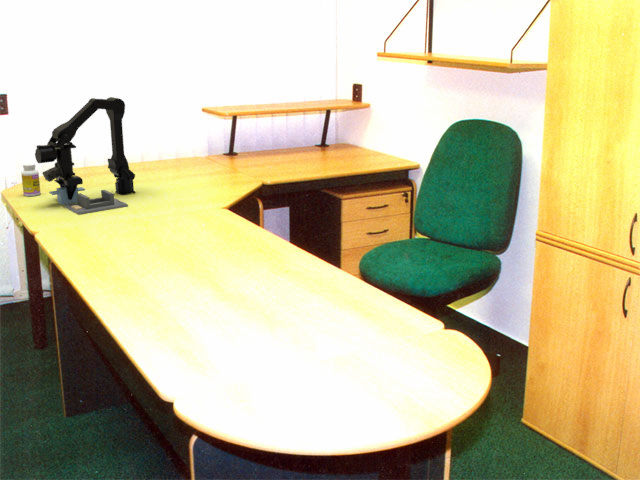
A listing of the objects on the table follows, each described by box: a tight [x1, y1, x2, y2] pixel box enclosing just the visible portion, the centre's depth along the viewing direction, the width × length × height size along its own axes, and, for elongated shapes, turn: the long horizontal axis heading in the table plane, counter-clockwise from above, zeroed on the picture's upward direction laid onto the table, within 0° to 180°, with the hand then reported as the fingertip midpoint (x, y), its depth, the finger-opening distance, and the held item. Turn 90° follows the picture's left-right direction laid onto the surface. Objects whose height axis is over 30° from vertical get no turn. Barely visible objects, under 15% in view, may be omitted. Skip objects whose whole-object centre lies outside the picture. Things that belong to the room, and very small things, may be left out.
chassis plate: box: [63, 189, 129, 216], centre depth 279 cm, size 20×14×5 cm
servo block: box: [48, 186, 86, 206], centre depth 285 cm, size 13×4×6 cm, turn 130°
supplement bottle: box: [21, 162, 41, 197], centre depth 295 cm, size 7×7×13 cm
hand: (68, 198), depth 286 cm, fingers closed on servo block, 4 cm apart
